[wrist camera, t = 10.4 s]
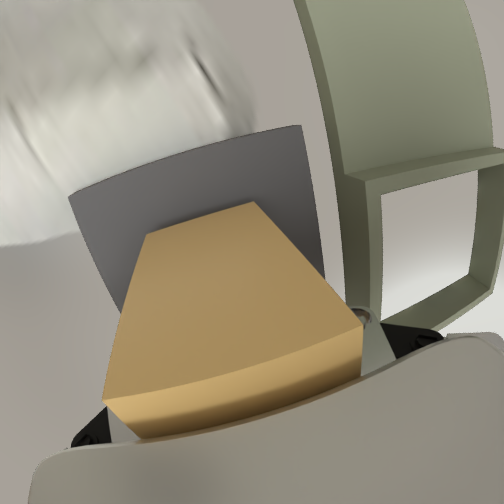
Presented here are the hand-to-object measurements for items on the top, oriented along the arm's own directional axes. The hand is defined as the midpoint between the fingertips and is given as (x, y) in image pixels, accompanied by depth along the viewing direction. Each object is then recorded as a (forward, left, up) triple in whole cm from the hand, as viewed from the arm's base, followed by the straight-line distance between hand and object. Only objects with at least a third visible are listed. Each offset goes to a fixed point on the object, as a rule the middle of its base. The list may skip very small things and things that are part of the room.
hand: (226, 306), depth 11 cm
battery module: (0, 0, -1) cm, 1 cm away
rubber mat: (0, 0, -4) cm, 4 cm away
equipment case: (-14, -3, -4) cm, 15 cm away
